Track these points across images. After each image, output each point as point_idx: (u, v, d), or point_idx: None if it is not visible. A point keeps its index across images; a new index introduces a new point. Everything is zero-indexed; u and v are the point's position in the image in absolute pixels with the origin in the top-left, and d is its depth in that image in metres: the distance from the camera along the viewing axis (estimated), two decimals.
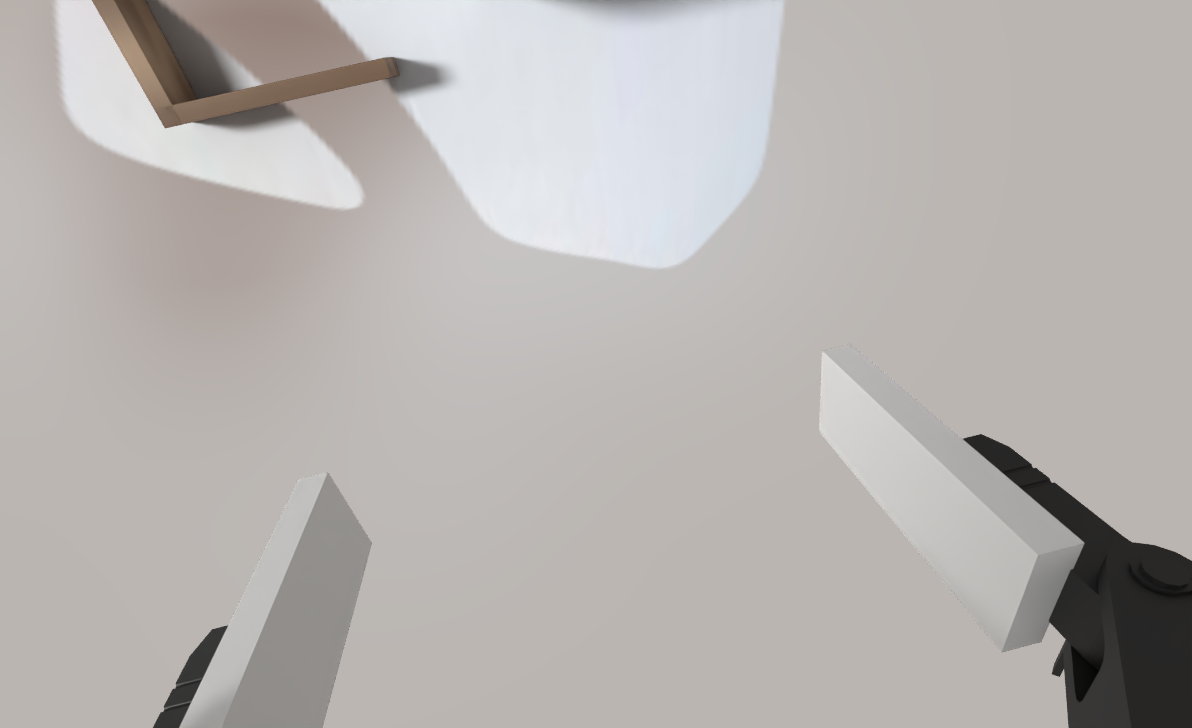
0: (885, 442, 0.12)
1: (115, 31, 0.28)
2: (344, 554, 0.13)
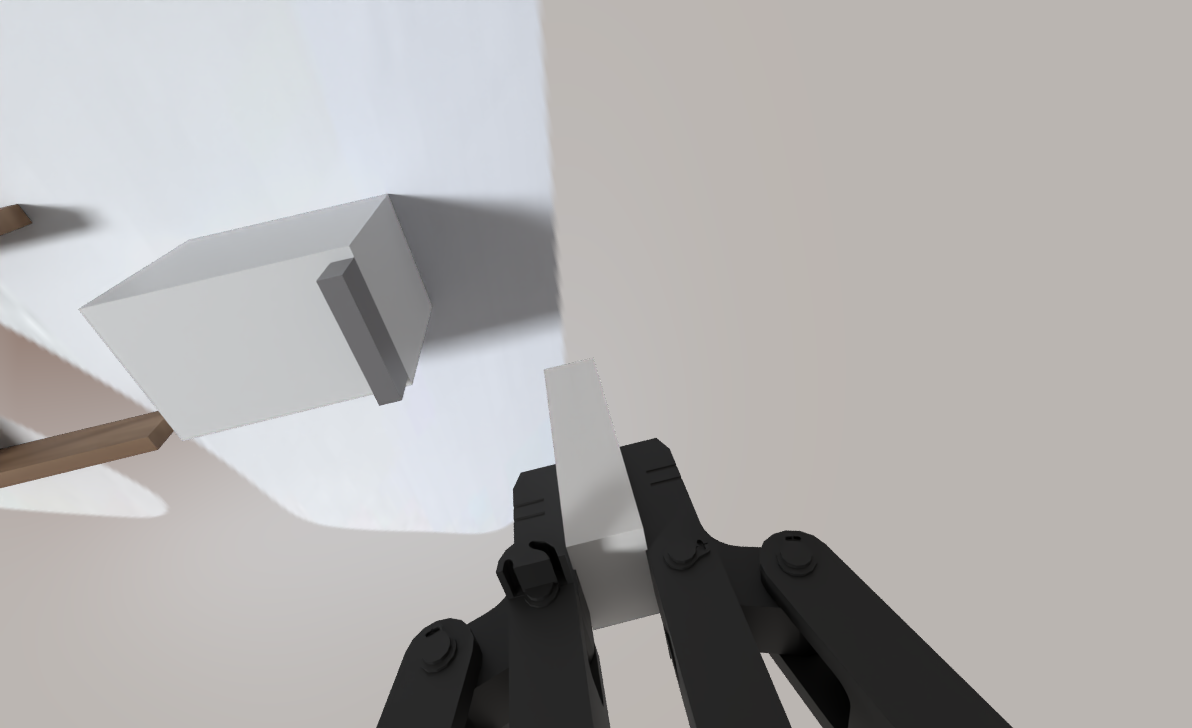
0: None
1: None
2: None
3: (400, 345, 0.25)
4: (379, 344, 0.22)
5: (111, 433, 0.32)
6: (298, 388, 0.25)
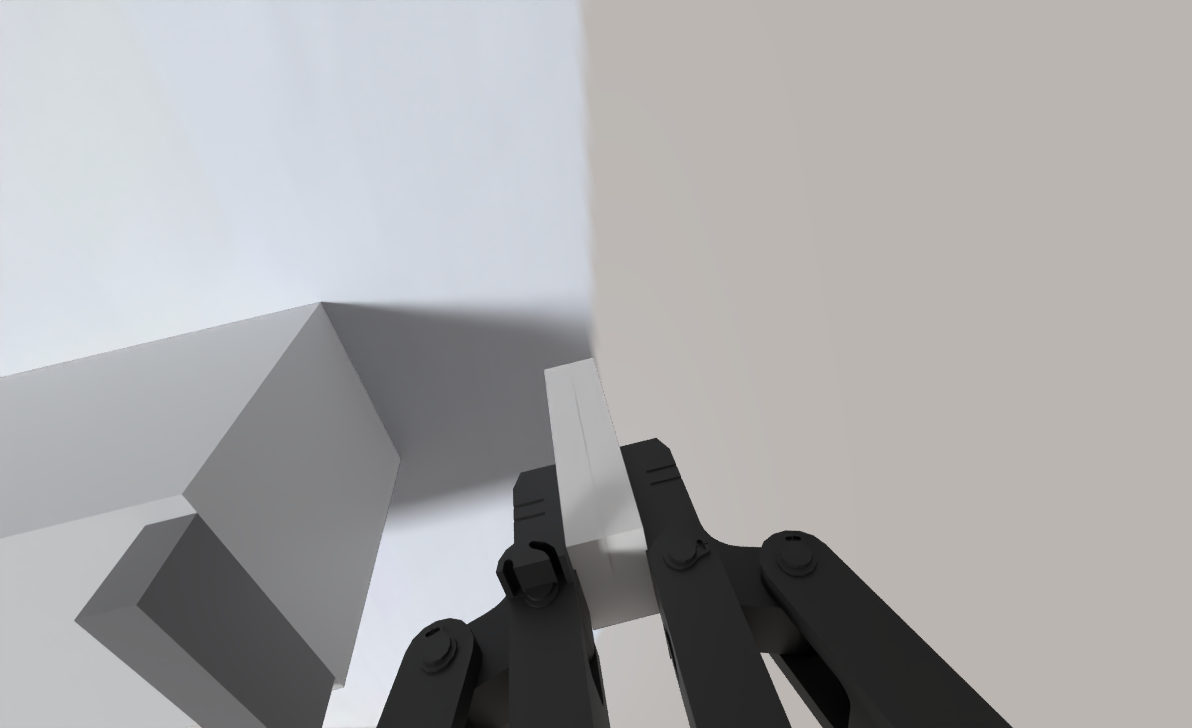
0: None
1: None
2: None
3: (320, 620, 0.13)
4: (255, 686, 0.11)
5: None
6: (123, 712, 0.13)
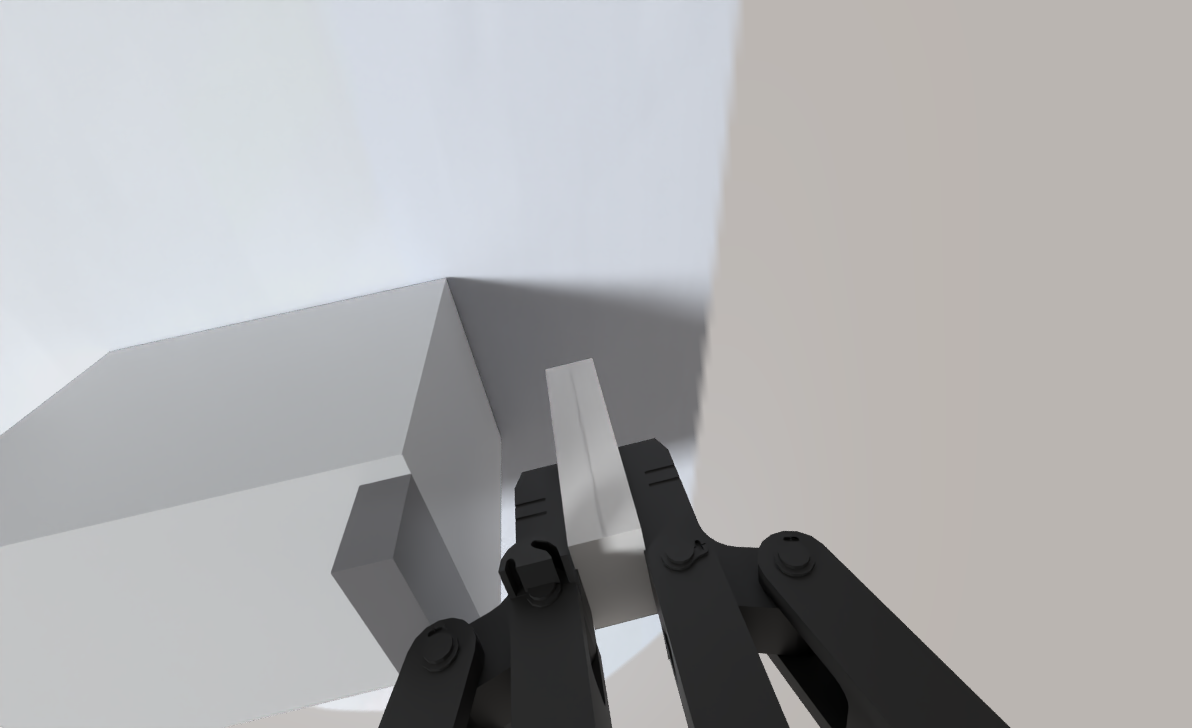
0: None
1: None
2: None
3: (482, 591, 0.13)
4: None
5: None
6: (287, 680, 0.13)
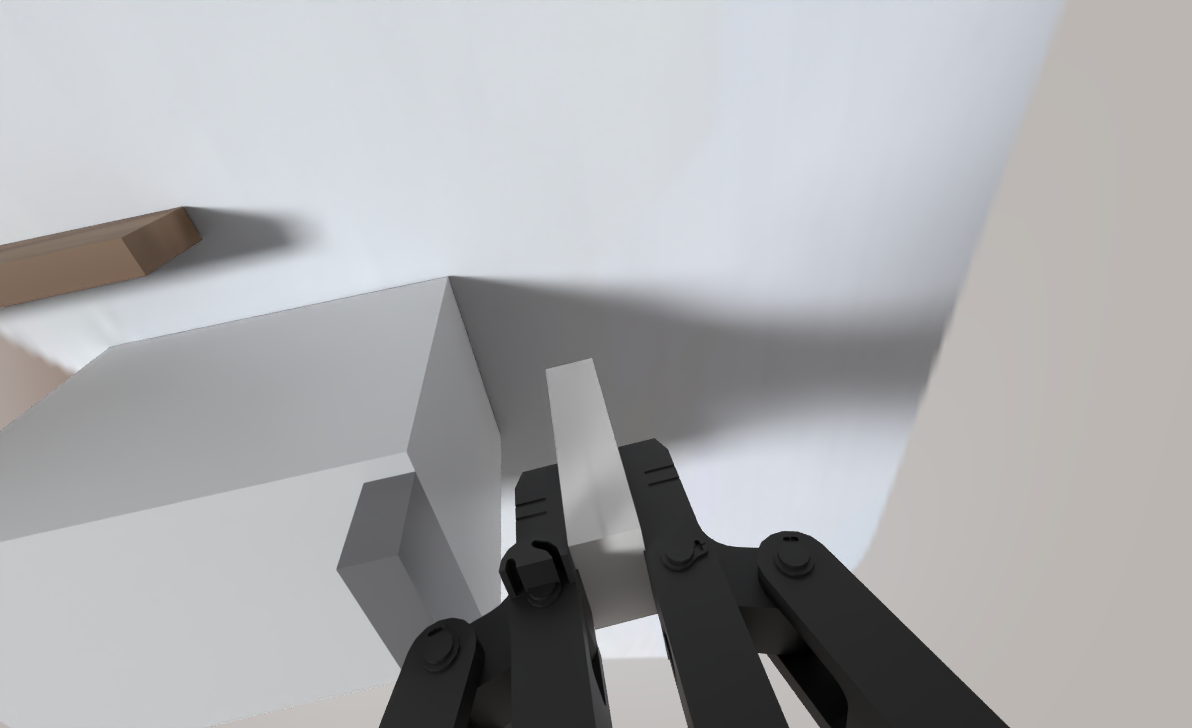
0: None
1: None
2: None
3: (482, 589, 0.13)
4: None
5: None
6: (288, 677, 0.13)
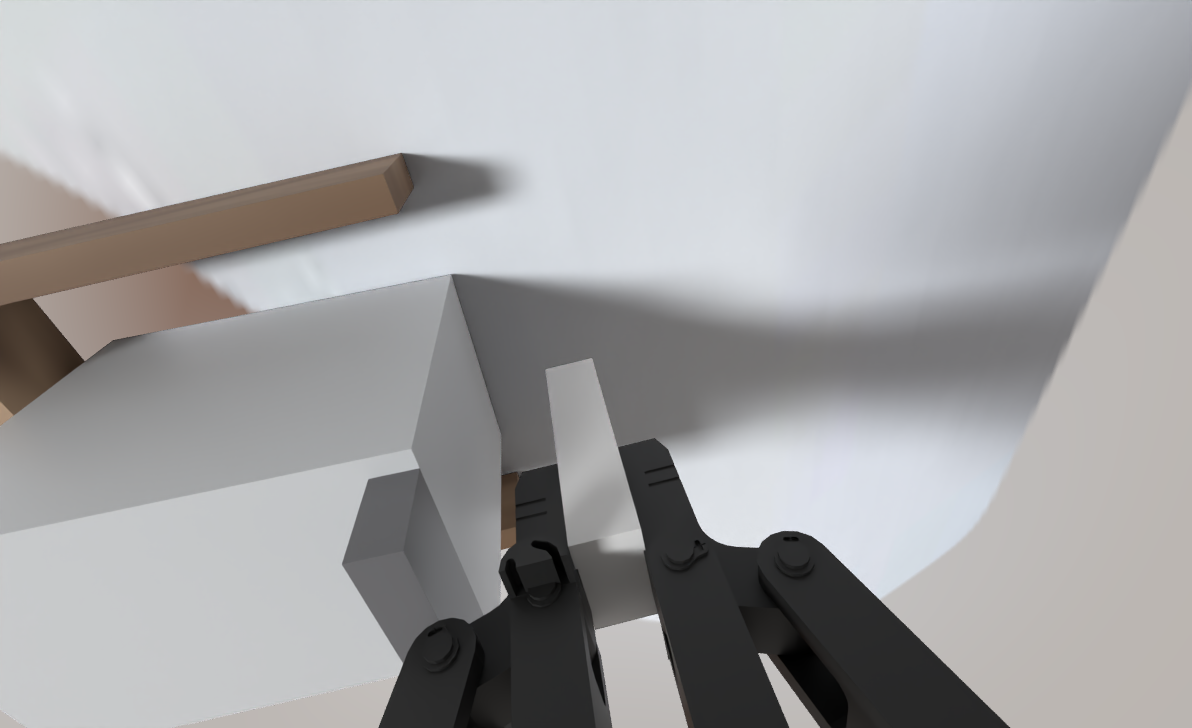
0: None
1: None
2: None
3: (483, 585, 0.14)
4: None
5: None
6: (289, 670, 0.13)
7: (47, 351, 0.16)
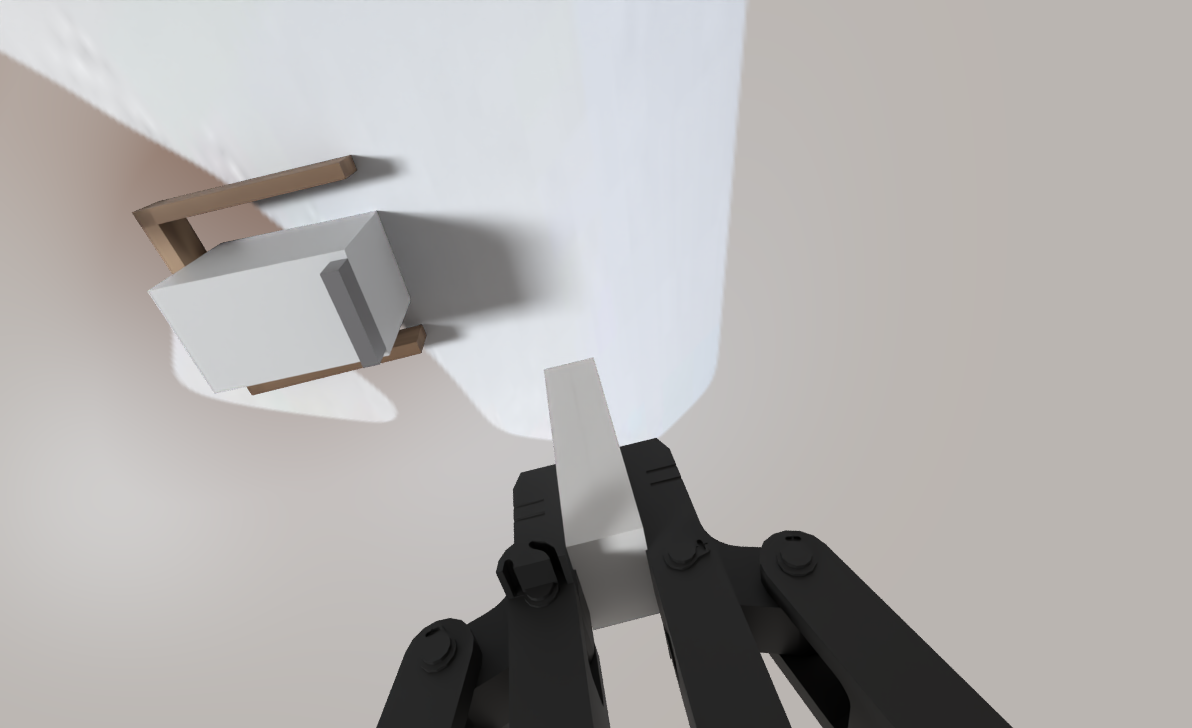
0: None
1: None
2: None
3: (381, 325, 0.33)
4: (364, 321, 0.31)
5: None
6: (303, 355, 0.33)
7: (195, 245, 0.36)
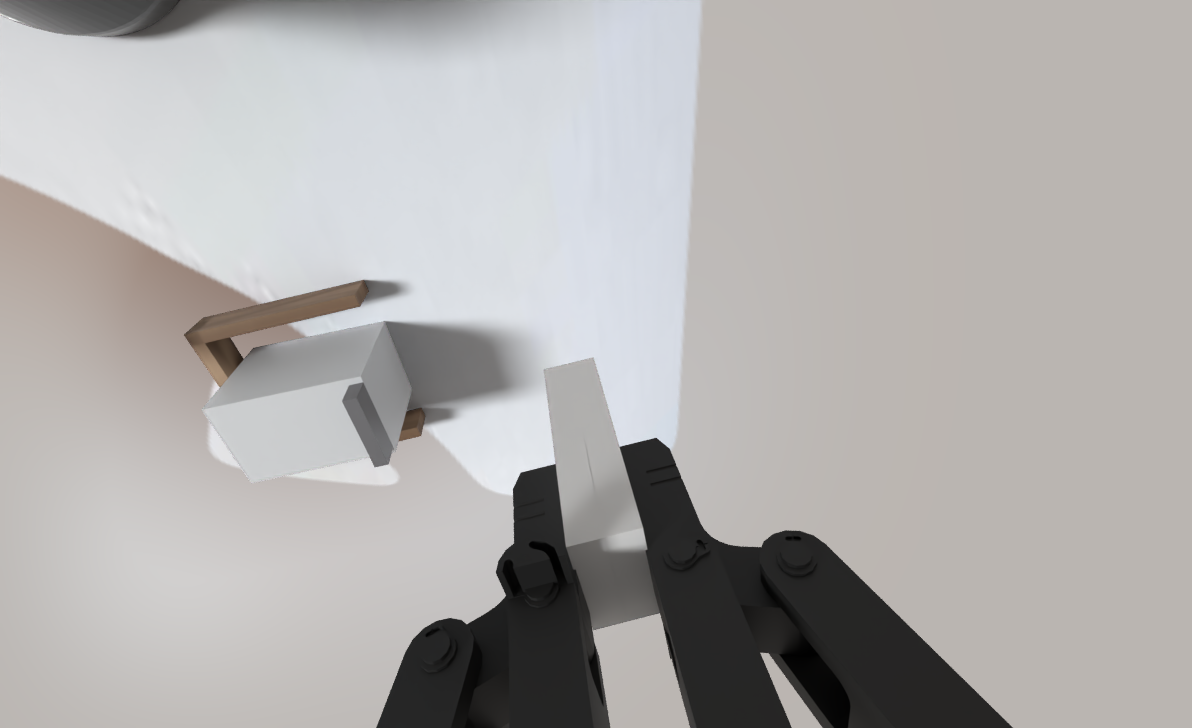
0: None
1: None
2: None
3: (389, 428, 0.41)
4: (376, 432, 0.38)
5: None
6: (325, 453, 0.40)
7: (232, 352, 0.44)
